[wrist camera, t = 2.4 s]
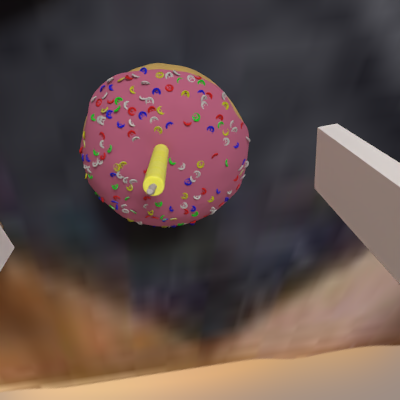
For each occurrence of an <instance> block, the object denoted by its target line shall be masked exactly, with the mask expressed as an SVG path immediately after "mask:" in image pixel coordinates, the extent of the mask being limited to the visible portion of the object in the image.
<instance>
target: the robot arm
mask: <svg viewBox="0 0 400 400" xmlns="http://www.w3.org/2000/svg"><path fill="white" fill-rule="evenodd" d="M314 188H315V189H316V190H317V192H318V193H319V194H320V195H321V196H322V197H323V198H324V199H325V201H326V202H327V203H328V204H329V205H330V206H331V207H332V208H333V210H334V211H335V212H336V213H337V214H338V215H339V216H340V218H341V219H342V220H343V221H344V222H345V223H346V224H347V225H348V227H349V228H350V229H351V230H352V231H353V232H354V233H355V234H356V236H357V237H358V238H359V239H360V240H361V241H362V242H363V243H364V245H365V246H366V247H367V248H368V249H369V250H370V251H371V252H372V254H373V255H374V256H375V257H376V258H377V259H378V260H379V261H380V263H381V264H382V265H383V266H384V267H385V268H386V269H387V270H388V272H389V273H390V274H391V275H392V276H393V277H394V278H395V279H396V281H397V282H398V283H399V284H400V163H399V162H397V161H396V160H394V159H392V158H391V157H389V156H388V155H386V154H384V153H383V152H381V151H380V150H378V149H376V148H375V147H373V146H372V145H370V144H369V143H367V142H365V141H364V140H362V139H361V138H359V137H357V136H356V135H354V134H353V133H351V132H349V131H348V130H346V129H345V128H343V127H341V126H340V125H338V124H332V125H327V126H322V127H318V129H317V149H316V168H315V187H314ZM13 249H14V246H13V244H12V243H11V241H10V240H9V238H8V237H7V235H6V233H5V232H4V230H3V229H2V227H1V226H0V271H1V269H2V268H3V266H4V264H5V263H6V261H7V259H8V258H9V256H10V254H11V253H12V251H13Z"/></svg>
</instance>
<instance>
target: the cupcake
mask: <svg viewBox="0 0 400 400" xmlns="http://www.w3.org/2000/svg"><path fill="white" fill-rule="evenodd" d="M249 142H250V139H249V134H248V129H247V127H246V125H245V124H244V122H243V120H242V118H241V116H240V115H239V113H238V111H237V110H236V108H235V106H234V105H233V103H232V102H231V101H230V99H229V98H228V97H227V96H226V94H225V92H223V91H222V90H221V89H220V88H219V87H218V86H217V85H216V84H215V83H214V82H213V81H211V80H210V79H209V78H207V77H206V76H204V75H202V74H201V73H199V72H197V71H195V70H193V69H190V68H187V67H183V66H177V65H170V64H163V63H154V64H149V65H145V66H142V67H138V68H136V69H133V70H131V71H129V72H126V73H121V74H118V75H115V76H113V77H111V78H110V79H108V80H107V81H106V82H104V83H103V84H102V85H101V86H100V87H99V88H98V89H97V90H96V92H95V93H94V94H93V96H92V98H91V100H90V103H89V109H88V115H87V117H86V120H85V124H84V129H83V135H82V141H81V148H80V151H79V152H80V153H81V156H82V161H83V164H84V166H83V167H84V169H85V171H86V176H85V179H86V178H87V179H88V182H89V184H90V185H91V187H92V188H93V189H94V191H95V194H96V195H97V196H99V199H100V200H101V201H102V202H105V203H106V204H107V205H109V206H110V207H111V208H112V209H113V210H114V211H115V212H117V213H118V214H119V215H121V216H122V217H124V218H126V219H128V221H130V222H133V221H134V222H137V223H138V224H139V225H142V224H147V225H152V226H153V227H155V226H162V228H166V227H168V226H169V227H176V226H181V225H185V224H188V223H189V224H191V225H194V223H195V222H196V221H197V220H199V219H202V218H204V217H206V216H208V215H211V214H213V213H215V211H217V209H219V208H220V207H221V206H222V205H223V204H224V203H225V202H226V201H228V200H229V199H230V198H231V197H232V196H233V195H234V194H235V193H236V192H237V190H238V189H239V187H240V185H241V182H242V179H243V177H244V176H245V175H244V172H245V168H246V167H247V166H248V165H249V162H248V161H247V155H248V146H249ZM246 163H247V164H246ZM192 223H193V224H192Z"/></svg>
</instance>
